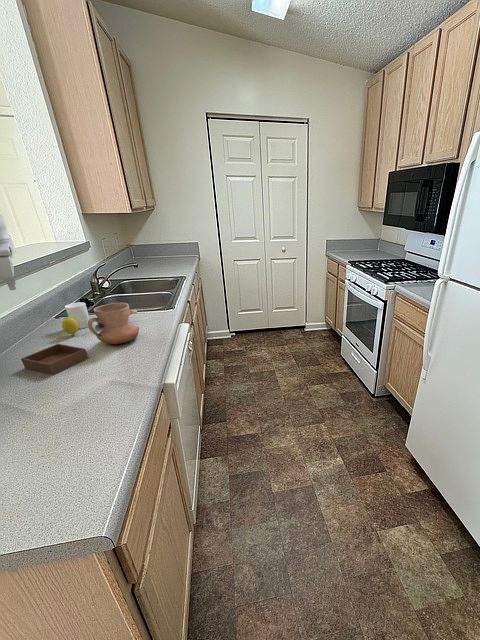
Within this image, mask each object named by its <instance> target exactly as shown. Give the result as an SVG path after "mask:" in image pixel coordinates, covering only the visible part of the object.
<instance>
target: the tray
mask: <svg viewBox="0 0 480 640" xmlns="http://www.w3.org/2000/svg"><path fill="white" fill-rule="evenodd" d="M88 359H89V355H88V352H87V350H86V348H85V347H84V348H82V347H78V346H72V345H67V344H62V343H56V344H53V345H50V346H48V347H46V348H44V349H41V350H38V351H37V352H33V353H32V354H28V355H26V356H24V357H22V358H21V357H20V360H21V363H22V365H23V367H24V369H27V370H30V371H35V372H39V373H43V374H47V375H52V376H54V375H56V374H58V373H61V372H63V371H64V370H67V369H69V368H70V367H73V366H75V365H78V364H79V363H81V362H83V361H85V360H88Z"/></svg>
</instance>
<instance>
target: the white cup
mask: <svg viewBox="0 0 480 640" xmlns="http://www.w3.org/2000/svg"><path fill="white" fill-rule="evenodd" d="M64 308H65V311H66V313H67V317H68V318H72V319H74V320H75V321H76V322H77V324H78V330H81V329H85V328H88V321H89V320H90V316H89V311H88V307H87V304H86V302H84V301H83V302H81V301H78V302H71V303H68V304H66V305H65V306H64Z"/></svg>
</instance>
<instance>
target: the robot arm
mask: <svg viewBox="0 0 480 640" xmlns="http://www.w3.org/2000/svg"><path fill="white" fill-rule="evenodd" d="M14 253H16V249H15V246H14V242H13V240H12V238H11V236H10V234H9V232H8V229H7V224H6V220H5V219H4V216H3V214H2V212H1V210H0V279H1V280H5V283H6V285H7V287H8V289H9V290H10V291H16V290H17V287H16V285H17V282H16V280H15V267H14V264H13V262H12V258H14V255H13V254H14Z"/></svg>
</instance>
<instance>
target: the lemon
mask: <svg viewBox="0 0 480 640" xmlns="http://www.w3.org/2000/svg"><path fill="white" fill-rule="evenodd" d="M61 328H62V330H63V331H64V333H65V334H68V335H71V336H75V334H76V333H78V331H79V329H78V324H77V322H76V321H75V320H74V319H72V318H69V316H66V317H65V318H64V319H63V320H62V321H61Z"/></svg>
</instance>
